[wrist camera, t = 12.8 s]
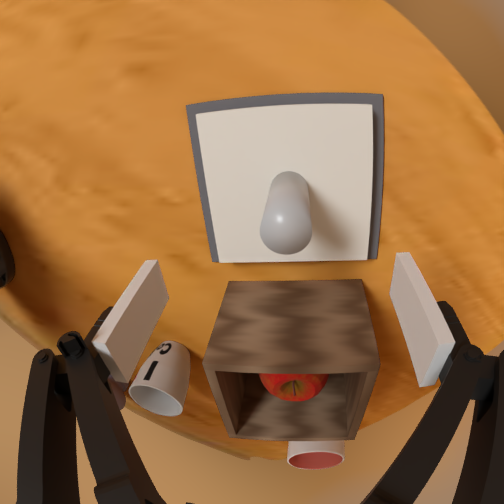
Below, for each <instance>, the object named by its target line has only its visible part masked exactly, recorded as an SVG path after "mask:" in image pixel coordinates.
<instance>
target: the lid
mask: <svg viewBox="0 0 504 504" xmlns="http://www.w3.org/2000/svg"><path fill="white" fill-rule="evenodd" d="M196 121H197V128H198V135H199V142H200V149H201V155H202V162H203V168H204V174H205V181H206V187H207V193H208V199H209V205H210V211H211V217H212V223H213V229H214V234H215V240H216V246H217V251H218V257H219V262H220V263H234V262H294V261H343V260H367V255H368V244H369V232H370V218H371V201H372V176H373V115H372V105H371V104H292V105H274V106H261V107H249V108H239V109H230V110H221V111H213V112H206V113H199V114H196Z"/></svg>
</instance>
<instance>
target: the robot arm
mask: <svg viewBox="0 0 504 504" xmlns="http://www.w3.org/2000/svg"><path fill="white" fill-rule="evenodd" d="M14 273H15V267H14V261H13V257H12V254H11V251H10V248H9V246H8V244H7V242H6V240H5V238H4V236H3V234H2V233H1V231H0V289H1V288H3V287H5V286H6V285H7V284H8V283H9V282H10V281H11V280H12V279H13V277H14ZM389 294H390V297H391V300H392V303H393V305H394V308H395V311H396V314H397V317H398V319H399V322H400V325H401V328H402V331H403V334H404V337H405V341H406V344H407V347H408V350H409V353H410V356H411V360H412V363H413V367H414V370H415V373H416V377H417V381H418V384H419V387H425V386H431V385H435V383H436V381H437V379H438V377H439V379H440V382H441V385H440V387H439V389H438V391H437V392H436V394H435V396H434V398H433V400H432V402H431V404H430V406H429V407H428V409H427V411H426V412H425V414H424V416H423V418H422V419H421V421H420V422H419V424H418V426H417V427H416V429H415V431H414V432H413V434H412V435H411V437H410V438H409V440H408V441H407V443H406V445H405V446H404V447H403V449H402V450H401V452H400V453H399V455H398V456H397V458H396V459H395V460H394V462H393V463H392V464H391V466H390V467H389V469H388V470H387V471H386V473H385V474H384V475H383V477H382V478H381V479H380V481H379V482H378V483H377V484H376V486H375V487H374V488H373V489H372V490H371V492H370V493H369V494H368V495H367V496H366V498H365V499H364V500H363V501H362V502H361V503H360V504H413V503H414V501H415V500H416V498H417V497H418V495H419V494H420V492H421V491H422V489H423V488H424V486H425V485H426V483H427V482H428V480H429V478H430V477H431V475H432V473H433V472H434V470H435V468H436V467H437V465H438V463H439V462H440V460H441V458H442V456H443V454H444V453H445V451H446V449H447V447H448V445H449V443H450V441H451V439H452V437H453V436H454V434H455V431H456V429H457V427H458V425H459V423H460V421H461V419H462V417H463V414H464V412H465V410H466V408H467V405H468V403H469V401H470V399H472V400H475V407H474V414H473V420H472V426H471V432H470V437H469V442H468V447H467V451H466V456H465V460H464V464H463V468H462V472H461V476H460V479H459V483H458V486H457V489H456V493H455V496H454V499H453V502H452V504H504V350H503V351H502V352H501V353H500V355H499V357H496V356H488V355H484V354H483V352H482V350H481V349H480V348H478V347H477V346H475V345H471V343H470V341H469V339H468V337H467V335H466V333H465V331H464V329H463V327H462V325H461V323H460V321H459V319H458V317H456V313H455V311H454V310H453V308H452V307H451V306H450V305H449V304H448V303H447V302H446V301H439V302H436V300H435V298H434V297H433V295H432V293H431V291H430V289H429V287H428V285H427V283H426V281H425V280H424V278H423V276H422V274H421V272H420V270H419V269H418V267H417V265H416V263H415V262H414V260H413V258H412V256H411V255H410V253H409V252H403V253H396V258H395V265H394V271H393V277H392V282H391V288H390V293H389ZM168 299H169V296H168V293H167V289H166V286H165V283H164V280H163V276H162V273H161V270H160V266H159V263H158V260H146V261H145V262H144V264H143V265H142V266H141V268H140V269H139V271H138V272H137V273H136V275H135V276H134V278H133V279H132V281H131V282H130V284H129V285H128V286H127V288H126V289H125V291H124V292H123V294H122V295H121V297H120V298H119V300H118V301H117V303H116V304H115V306H114V307H109V308H107V309H106V310H105V311H104V312H102V314H101V315H100V317H99V318H98V321H96V323H95V324H94V326H93V327H92V329H91V330H90V332H89V333H88V335H87V337H86V338H85V340H84V341H83V339H82V337H81V335H80V334H79V333H78V332H76V331H71V332H67V333H66V334H64V335H63V336H62V337H60V338H59V340H58V342H57V347H58V349H59V350H60V352H61V353H62V355H56V356H55V355H54V353H53V352H52V350H50V349H43V350H40V351H39V352H38V353H37V354H36V355H35V356H34V358H33V361H32V365H31V370H30V375H29V380H28V385H27V390H26V396H25V402H24V408H23V415H22V423H21V431H20V441H19V453H18V473H17V502H16V504H80V497H79V487H78V474H77V455H76V417H77V420H78V425H79V428H80V432H81V436H82V439H83V443H84V446H85V449H86V453H87V456H88V459H89V462H90V465H91V468H92V471H93V474H94V477H95V479H96V483H97V486H96V487H94V493H95V497H96V499H97V502H98V504H166V502H165V501H164V500H163V499H162V498H161V496H160V495H159V493H158V492H157V490H156V488H155V486H154V484H153V483H152V480H151V479H150V477H149V475H148V473H147V471H146V469H145V467H144V465H143V462H142V460H141V458H140V456H139V454H138V452H137V450H136V447H135V445H134V443H133V441H132V439H131V436H130V434H129V432H128V429H127V427H126V424H125V422H124V419H123V417H122V414H121V412H120V409H119V406H118V404H117V401H116V398H115V396H114V393H113V390H112V387H111V384H110V382H109V381H108V377H109V375H110V374H111V375H112V377H113V378H114V380H115V381H118V382H124V383H129V381H130V378H131V376H132V374H133V372H134V370H135V367H136V365H137V363H138V361H139V359H140V357H141V355H142V353H143V350H144V348H145V346H146V344H147V342H148V340H149V338H150V336H151V334H152V332H153V330H154V328H155V326H156V324H157V322H158V319H159V317H160V315H161V313H162V311H163V309H164V307H165V305H166V303H167V301H168ZM186 504H192V503H186Z"/></svg>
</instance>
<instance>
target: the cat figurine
mask: <svg viewBox="0 0 504 504" xmlns="http://www.w3.org/2000/svg"><path fill="white" fill-rule="evenodd" d="M108 381H109V382H110V384H111V387H112V390H113V393H114V396H115V398H116V401H117V404H118V406H119V409H120V410H121V409H123V408H124V406H125V403H126V397H125V395H124V391H126V389H127V387H128V385H129V383H124V382H118V381H115V380H114V378H113V377H112V375H111V374H110V375H109V377H108Z"/></svg>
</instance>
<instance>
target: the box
mask: <svg viewBox="0 0 504 504" xmlns="http://www.w3.org/2000/svg"><path fill="white" fill-rule="evenodd" d="M202 364H203V367H204V370H205V373H206V376H207V379H208V382H209V385H210V387H211V390H212V393H213V396H214V398H215V401H216V404H217V407H218V409H219V412H220V414H221V417H222V420H223V422H224V425H225V427H226V430H227V433H228V435H229V437H230V438H241V439H254V440H271V441H338V440H354V439H355V436H356V434H357V431H358V429H359V426H360V424H361V421H362V418H363V416H364V413H365V410H366V407H367V405H368V402H369V399H370V396H371V393H372V390H373V387H374V384H375V381H376V377H377V374H378V371H379V368H380V358H379V353H378V348H377V344H376V339H375V334H374V330H373V325H372V321H371V316H370V312H369V308H368V304H367V300H366V296H365V292H364V288H363V284H362V280H361V279H352V280H309V281H229V283H228V286H227V289H226V292H225V295H224V298H223V301H222V304H221V307H220V310H219V313H218V316H217V319H216V322H215V325H214V328H213V331H212V334H211V337H210V340H209V343H208V347H207V350H206V353H205V356H204V359H203V362H202ZM259 373H268V374H329V377H328V380H327V382H326V384H325V386H324V387H323V389H322V390H321V391H320V392H319V394H318V395H316V396H315V397H313V398H311V399H309V400H305V401H287V400H281V399H279V398H278V397H276V396H274V395H272V394H270V393H269V391H268V390H267V389H266V388H265V386H264V385H263V383H262V382H261V379H260V376H259Z"/></svg>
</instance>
